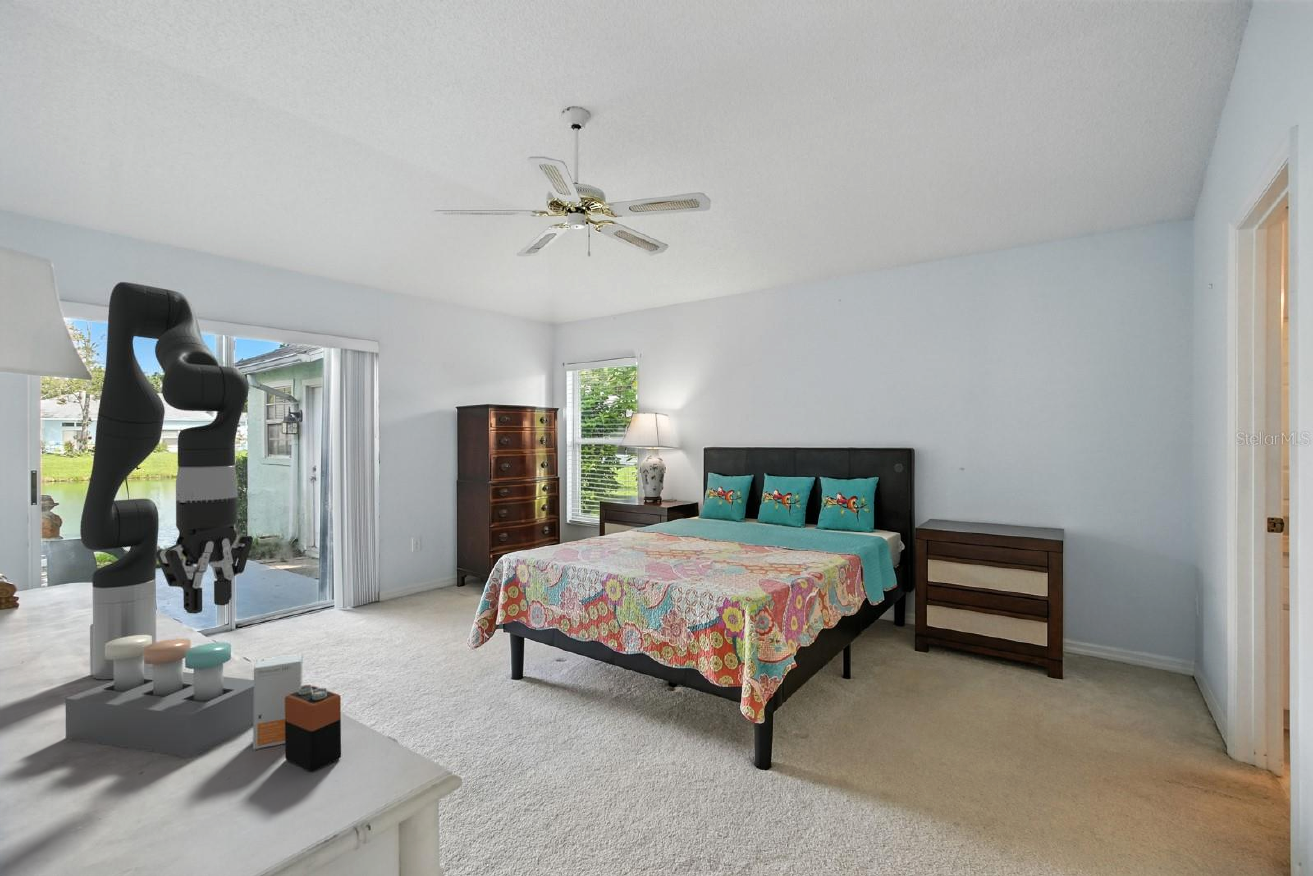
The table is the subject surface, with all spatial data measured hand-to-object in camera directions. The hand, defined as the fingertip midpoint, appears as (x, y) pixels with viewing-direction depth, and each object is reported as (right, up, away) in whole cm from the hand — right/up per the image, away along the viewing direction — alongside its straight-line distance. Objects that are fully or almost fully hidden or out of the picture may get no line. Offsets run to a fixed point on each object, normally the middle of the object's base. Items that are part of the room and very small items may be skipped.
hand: (208, 608), depth 91 cm
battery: (+20, -19, -8) cm, 29 cm away
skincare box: (+12, -19, -2) cm, 23 cm away
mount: (-8, -19, +2) cm, 21 cm away
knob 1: (-15, -14, +4) cm, 21 cm away
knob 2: (0, -14, 0) cm, 14 cm away
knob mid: (-8, -14, +2) cm, 16 cm away
